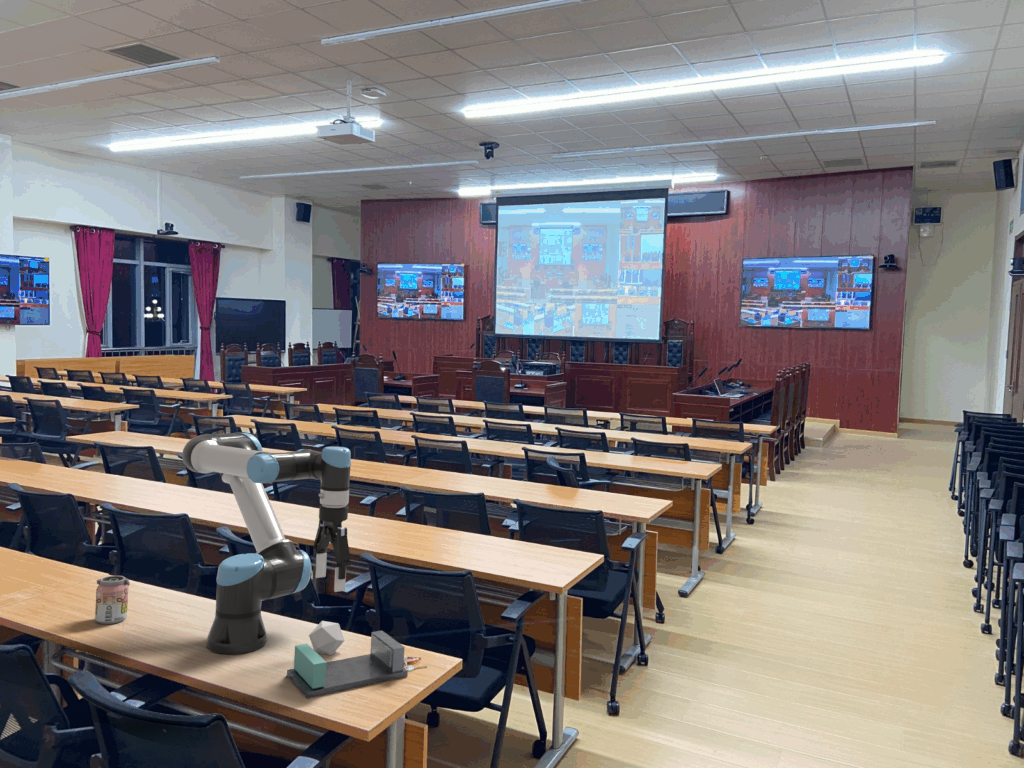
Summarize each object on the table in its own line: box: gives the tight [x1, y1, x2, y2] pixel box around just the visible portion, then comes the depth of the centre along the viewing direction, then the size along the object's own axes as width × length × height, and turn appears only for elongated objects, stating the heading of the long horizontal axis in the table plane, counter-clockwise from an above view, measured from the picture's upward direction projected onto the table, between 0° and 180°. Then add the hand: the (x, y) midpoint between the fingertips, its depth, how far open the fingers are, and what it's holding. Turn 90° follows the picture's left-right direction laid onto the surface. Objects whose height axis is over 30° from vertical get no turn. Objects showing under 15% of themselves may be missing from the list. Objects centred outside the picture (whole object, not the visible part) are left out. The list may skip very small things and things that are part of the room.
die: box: [308, 620, 345, 656], centre depth 199 cm, size 8×9×10 cm
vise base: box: [286, 630, 409, 699], centre depth 184 cm, size 14×26×8 cm, turn 125°
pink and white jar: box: [94, 575, 131, 625], centre depth 213 cm, size 9×8×12 cm
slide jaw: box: [293, 643, 327, 689], centre depth 178 cm, size 13×3×6 cm, turn 35°
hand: (329, 583), depth 198 cm, fingers open, 13 cm apart
